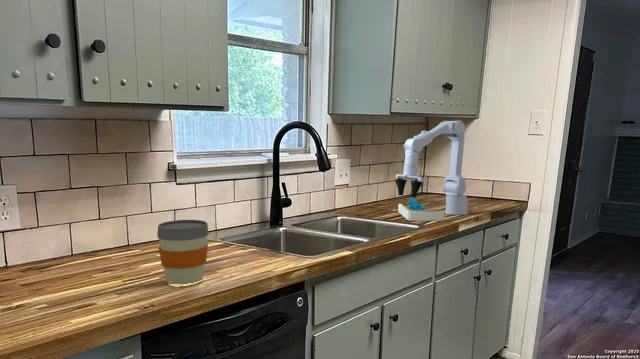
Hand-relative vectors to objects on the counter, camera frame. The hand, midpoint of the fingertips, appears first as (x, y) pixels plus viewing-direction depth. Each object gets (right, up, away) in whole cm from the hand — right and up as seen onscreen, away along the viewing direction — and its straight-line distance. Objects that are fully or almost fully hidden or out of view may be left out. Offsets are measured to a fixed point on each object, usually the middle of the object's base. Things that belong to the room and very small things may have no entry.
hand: (406, 196), depth 202 cm
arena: (+8, -9, +10) cm, 16 cm away
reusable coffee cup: (-73, -19, -84) cm, 113 cm away
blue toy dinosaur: (+7, -9, +14) cm, 18 cm away
